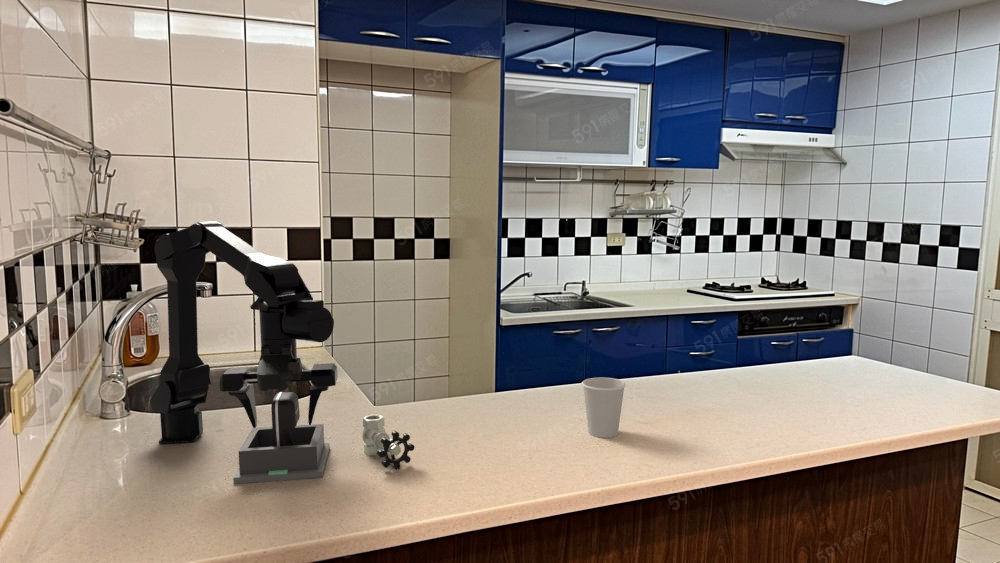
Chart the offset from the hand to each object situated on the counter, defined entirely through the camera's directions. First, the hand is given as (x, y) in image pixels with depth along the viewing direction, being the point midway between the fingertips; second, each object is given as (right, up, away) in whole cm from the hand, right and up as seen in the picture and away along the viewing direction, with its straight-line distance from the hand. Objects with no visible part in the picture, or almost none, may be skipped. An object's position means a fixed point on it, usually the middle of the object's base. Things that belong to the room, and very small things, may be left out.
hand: (282, 425), depth 121 cm
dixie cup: (+57, -5, +15) cm, 60 cm away
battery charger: (+1, -6, +1) cm, 6 cm away
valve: (+17, -7, +3) cm, 18 cm away
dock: (0, -7, +1) cm, 7 cm away
